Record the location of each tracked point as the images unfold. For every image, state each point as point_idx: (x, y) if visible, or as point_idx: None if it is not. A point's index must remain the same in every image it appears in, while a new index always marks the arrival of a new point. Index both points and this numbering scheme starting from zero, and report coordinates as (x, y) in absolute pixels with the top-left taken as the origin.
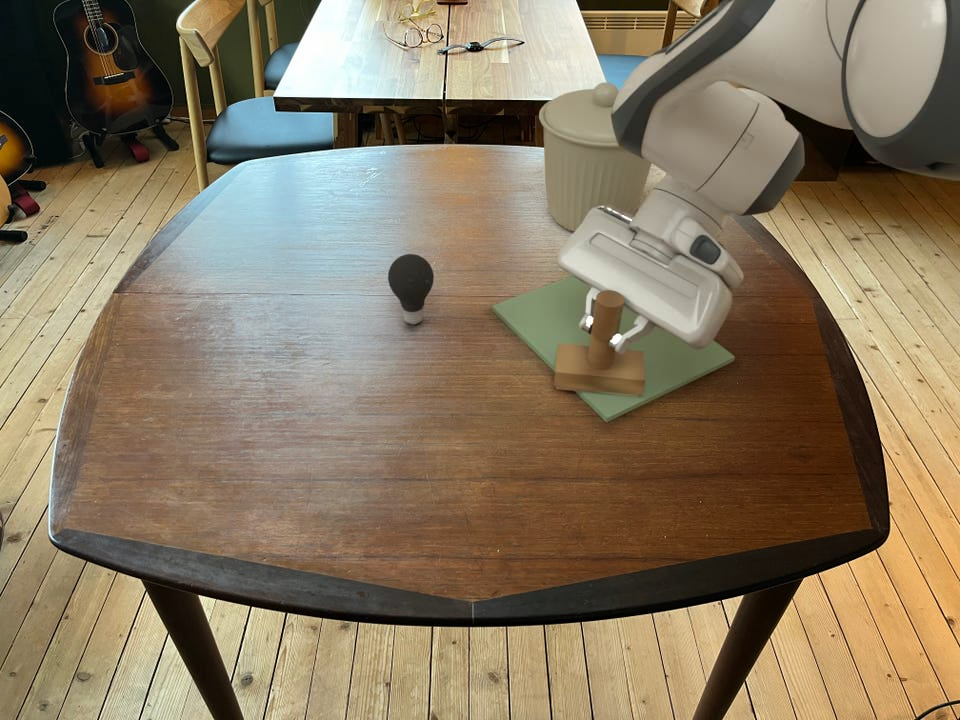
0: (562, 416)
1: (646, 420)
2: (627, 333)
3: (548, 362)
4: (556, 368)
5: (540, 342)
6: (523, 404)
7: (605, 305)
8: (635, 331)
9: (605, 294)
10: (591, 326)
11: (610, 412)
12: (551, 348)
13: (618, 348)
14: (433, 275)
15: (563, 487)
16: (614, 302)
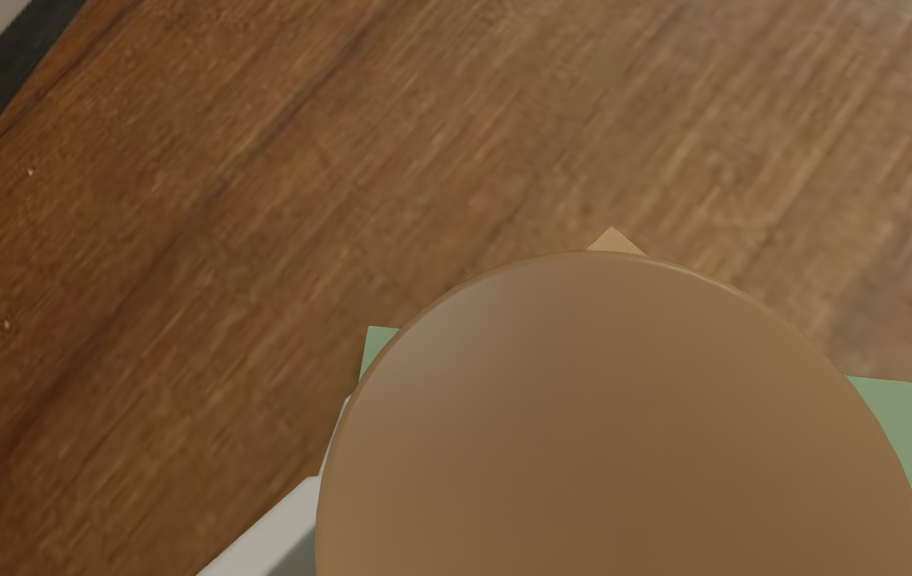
0: (491, 233)
1: (290, 455)
2: (315, 503)
3: None
4: (626, 242)
5: (898, 424)
6: (616, 166)
7: (480, 278)
8: (241, 558)
9: (766, 549)
10: None
11: (376, 353)
12: None
13: (348, 396)
14: None
15: (294, 72)
16: (440, 485)
